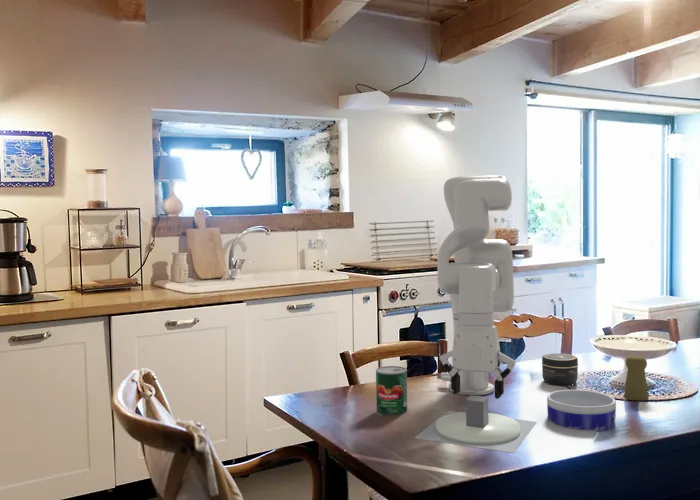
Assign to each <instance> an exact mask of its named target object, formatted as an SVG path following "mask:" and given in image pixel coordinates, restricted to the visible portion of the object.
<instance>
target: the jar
mask: <svg viewBox="0 0 700 500" xmlns="http://www.w3.org/2000/svg"><path fill="white" fill-rule="evenodd" d="M541 360H542V361H541V365H542V372H541V373H542V375H541V376H542V378H543V381H544V383H545V384H547V385H551V386H554V387H569V386H568V385H571V386H573V385H572V384H574V385H576V383H577V381H578V375H579V374H578V370H579V369H578V368H579V367H578V366H579V363H578V362H579V361H578V360H579V359H578V357H577V356H576V355H573V354H569V353H561V352H560V353H556V352H555V353H553V352H552V353H546V354H543V355H542V358H541Z"/></svg>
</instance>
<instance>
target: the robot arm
mask: <svg viewBox="0 0 700 500" xmlns="http://www.w3.org/2000/svg"><path fill="white" fill-rule="evenodd" d="M443 197H444V201H445V204H446V207H447V210H448V212H449V215H450V217H451V220H452V225H453V230H452V231H451V232H450V233H449V234H448V235H447V236H446V237H445V239H444V240H443V242H442V243H441V245H440V247H439V250H438V254H437V271H436V272H437V273H436V274H437V276H436V277H437V284H438V285H437V286H438V287H439V290H440V291H441V292H442V293H443V294H445V295H449V298H450V305H451V310H452V323H453V341H452V343H453V344H452V350H450V351H448V352H445V353H443V354H441V355H439V360H440V362H441V363H442V366H443V369H444V371H446V372H441V373H440V379H441V380H442V381H447V382H450V384H448V389H449V391H450V392H452V394H453V395H463V396H464V395H465V396H471V395H473V396H483V395H489V394H491V393H493V392H494V398H495V399H498V400H499V399H500V398H501V397H502V395H504V392H505V387H504V386H505V385H504V379H505V378H507V377H508V376H509V374H510V373H512V371H513V369H514V367H515V365H516V360H515V359H513V358H511V357H509V356H508V355H506V354H504V353H502V351H501V349H500V348H501V347H500V341H499V335H498V330H497V326H496V325H494V313H506V312H510V311H511V310H512V309H513V307H514V302H515V288H514V260H513V259H514V258H513V251H512V246H511V244H510V243H509V242H508V241H507V240H505V239H499V238H495V239H491V238H490V239H489V238H488V239H486V237H488V235H489V233H490V220H489V218H490V217H489V212H506V211H508V210H509V208H510V207H511V206H512V201H513V198H512V197H513V196H512V188H511V184H510V182H509V181H508V179H507V177H505V176H504V175H500V174H499V175H497V174H496V175H494V174H492V175H491V174H490V175H463V176H456V177H451V178H449V179H447V180H446V181H444V184H443ZM453 255H454V262H449V261H450V258H451V257H452V256H453ZM449 358H452V359H451V360H452V361H451V362H452V364H451V363H450V362H449ZM501 361H502V362H503V363H505V364H506V367H505V369H504V370H502V369H501V368H500V366H501ZM489 373H492V375H493V376H494V377H495V380H494V384H492V383H491V382H489Z"/></svg>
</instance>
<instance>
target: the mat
mask: <svg viewBox="0 0 700 500" xmlns="http://www.w3.org/2000/svg"><path fill="white" fill-rule="evenodd" d="M453 413H460V411H453V410H446V411H445V412H443V414H441V416H439V417H438V418H437V419H436V420H434V421H433V422H432V423H431V424H430V425H428V426H427V427H426V428H425V429H423V430H422V431H421V432H420V433H418V434H417V435H416V436H415V437H414V439H417V440H424V441H431V442H436V443H442V444H449V445H451V444H452V445H456V446H463V447H468V448H469V447H470V448H471V447H472V448H477V449H484V450H490V451H498V452H503V453H510V454H515V452H516V451H517V450H518V448H519V447H520V446H521V444H522V443H523V441H524V440H525V439H526V437H528V435H529V434H530V433H531V431H532V429H534V426H535V425H536V424H537V422H538V421H534V420H533V421H532V420H528V419H527V420H524V419H519V418H518V419H517V418H513V419H514V420H515V421H517V422H518V423H519V424H520V427H521V432H520V435H519V436H518V437H517V438H515V439H513V440H511V441H507V442H503V443H496V444H469V443H462V442H457V441H453V440H450V439H447V438H444V437H442V436H441V435H439V434H438V433H437V432H436V425H435V424H436V421H437V420H438V419H439V418H441V417H443V416H445V415H448V414H453Z"/></svg>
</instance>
